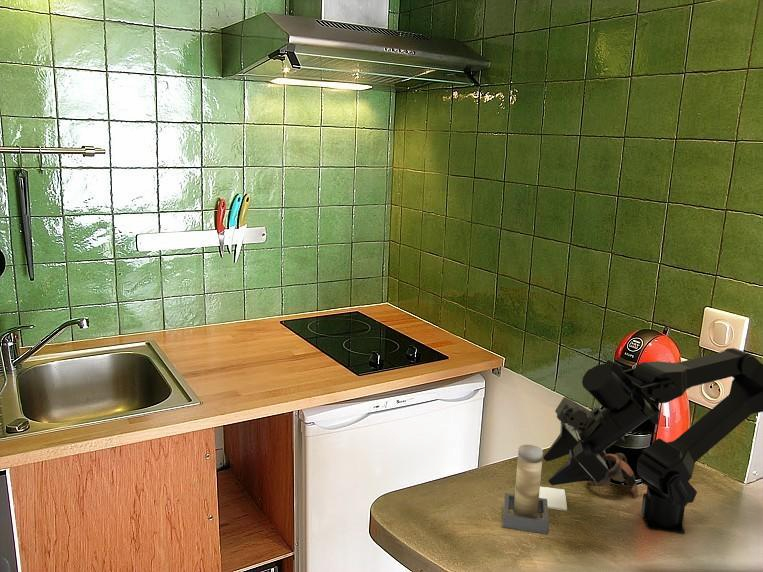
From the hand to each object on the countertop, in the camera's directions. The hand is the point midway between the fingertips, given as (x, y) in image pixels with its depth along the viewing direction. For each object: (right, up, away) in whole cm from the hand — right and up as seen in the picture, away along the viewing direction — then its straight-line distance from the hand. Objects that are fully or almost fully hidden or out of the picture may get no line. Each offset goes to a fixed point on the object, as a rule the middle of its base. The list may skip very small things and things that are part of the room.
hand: (547, 470), depth 115 cm
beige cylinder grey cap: (-4, -10, +3) cm, 11 cm away
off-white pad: (+2, -9, +10) cm, 14 cm away
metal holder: (-4, -10, +3) cm, 11 cm away
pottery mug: (+18, -8, +16) cm, 25 cm away
